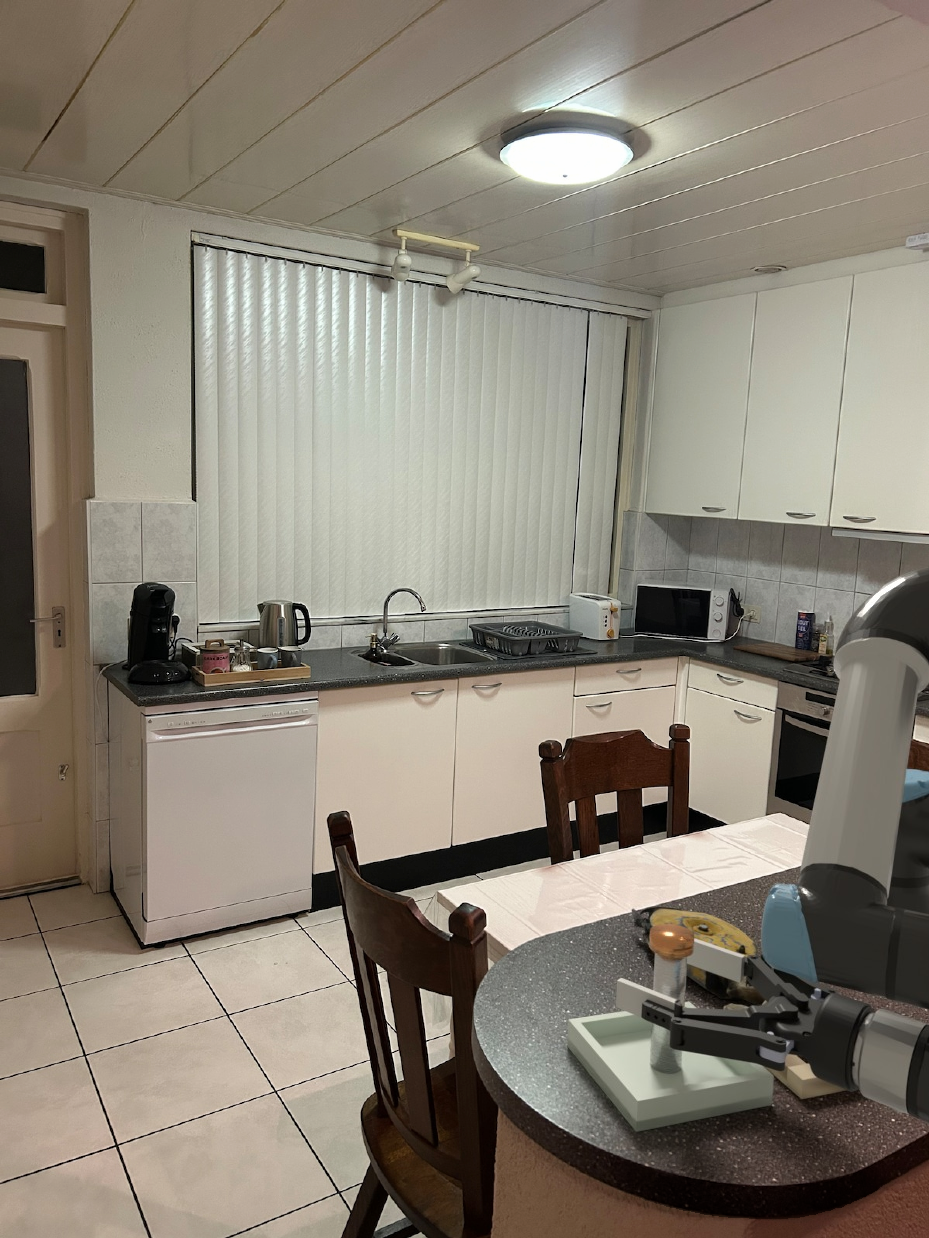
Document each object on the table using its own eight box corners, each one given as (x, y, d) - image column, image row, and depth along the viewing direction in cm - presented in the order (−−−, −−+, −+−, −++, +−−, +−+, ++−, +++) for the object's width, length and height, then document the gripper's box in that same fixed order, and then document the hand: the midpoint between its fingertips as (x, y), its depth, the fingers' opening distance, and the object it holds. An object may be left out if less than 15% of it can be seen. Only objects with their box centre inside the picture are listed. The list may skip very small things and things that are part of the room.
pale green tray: (687, 1026, 104) (689, 1001, 104) (771, 1104, 90) (773, 1075, 90) (567, 1045, 100) (568, 1019, 99) (636, 1131, 86) (637, 1100, 85)
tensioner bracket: (814, 1038, 103) (815, 1021, 103) (874, 1084, 94) (875, 1065, 94) (746, 1050, 100) (747, 1032, 100) (801, 1098, 92) (802, 1079, 91)
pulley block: (721, 990, 100) (629, 886, 130) (710, 1041, 101) (621, 926, 130) (838, 1003, 103) (722, 899, 132) (827, 1053, 103) (714, 938, 133)
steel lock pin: (672, 1050, 98) (679, 921, 97) (695, 1073, 94) (703, 939, 92) (635, 1056, 96) (642, 926, 95) (657, 1079, 92) (664, 944, 91)
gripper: (809, 1158, 72) (583, 1051, 86) (907, 1036, 91) (708, 965, 105) (816, 1066, 72) (587, 974, 86) (913, 963, 90) (712, 901, 104)
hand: (653, 969), depth 95 cm, fingers open, 13 cm apart
